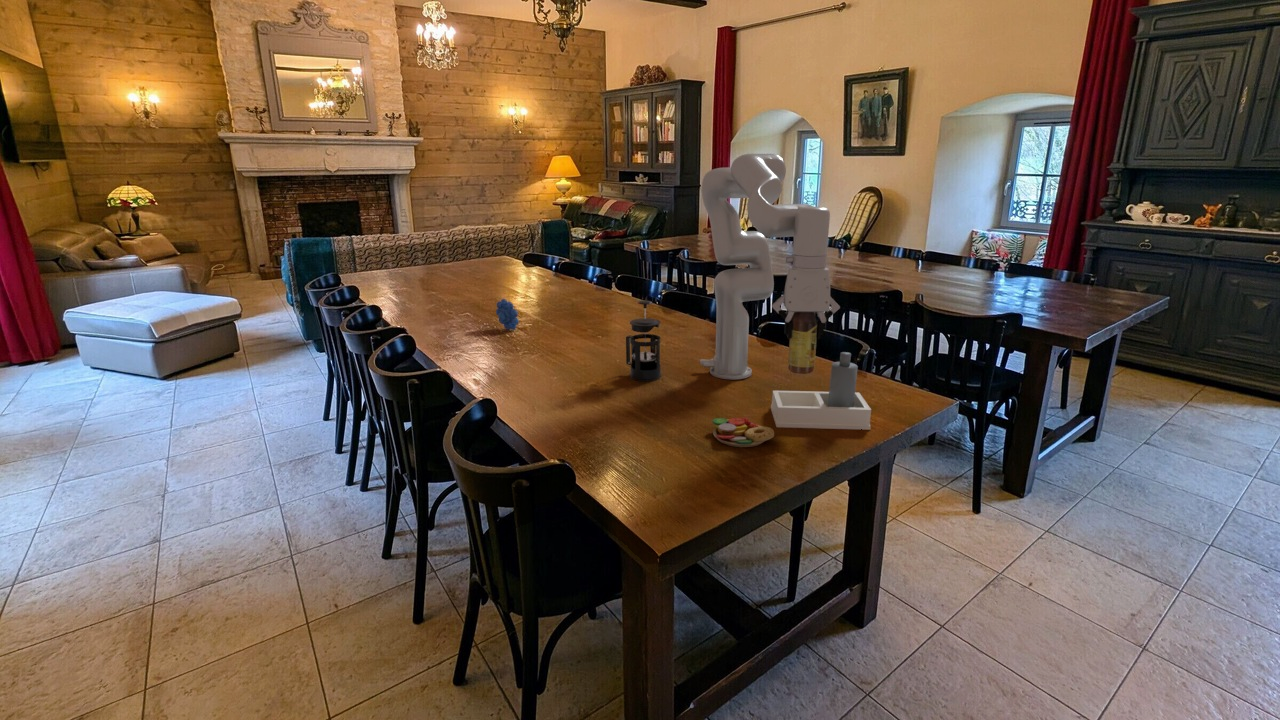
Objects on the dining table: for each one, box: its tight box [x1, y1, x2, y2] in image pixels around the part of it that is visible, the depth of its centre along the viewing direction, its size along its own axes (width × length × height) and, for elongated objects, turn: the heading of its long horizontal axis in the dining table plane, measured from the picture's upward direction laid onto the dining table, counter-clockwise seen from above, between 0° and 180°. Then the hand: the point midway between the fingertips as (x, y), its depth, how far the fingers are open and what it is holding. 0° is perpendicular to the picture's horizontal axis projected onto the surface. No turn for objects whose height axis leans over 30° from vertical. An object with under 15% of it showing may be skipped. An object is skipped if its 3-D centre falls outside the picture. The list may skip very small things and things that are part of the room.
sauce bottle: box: [787, 312, 818, 375], centre depth 145 cm, size 6×6×20 cm
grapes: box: [495, 298, 520, 331], centre depth 233 cm, size 12×7×12 cm, turn 53°
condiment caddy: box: [770, 351, 872, 431], centre depth 148 cm, size 22×12×17 cm, turn 85°
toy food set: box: [712, 417, 775, 448], centre depth 141 cm, size 13×13×3 cm
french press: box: [625, 300, 662, 382], centre depth 179 cm, size 12×9×23 cm
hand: (803, 336), depth 145 cm, fingers closed on sauce bottle, 6 cm apart
